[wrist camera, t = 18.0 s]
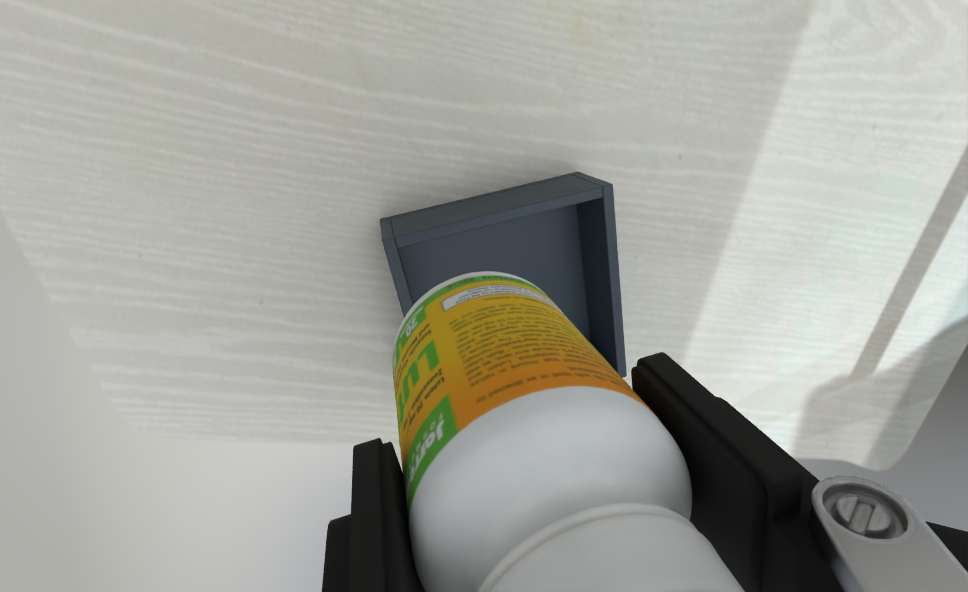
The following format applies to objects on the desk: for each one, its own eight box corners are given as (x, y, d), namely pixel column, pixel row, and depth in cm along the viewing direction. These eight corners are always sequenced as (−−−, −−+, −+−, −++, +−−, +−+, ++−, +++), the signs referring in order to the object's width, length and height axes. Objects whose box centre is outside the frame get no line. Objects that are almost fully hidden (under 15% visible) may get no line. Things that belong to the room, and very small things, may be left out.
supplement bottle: (387, 269, 14) (429, 593, 5) (568, 263, 15) (868, 511, 6) (393, 428, 16) (431, 860, 7) (552, 412, 17) (757, 759, 8)
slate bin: (428, 391, 33) (437, 433, 29) (379, 219, 28) (382, 240, 24) (596, 343, 34) (627, 376, 30) (578, 171, 29) (613, 183, 25)
